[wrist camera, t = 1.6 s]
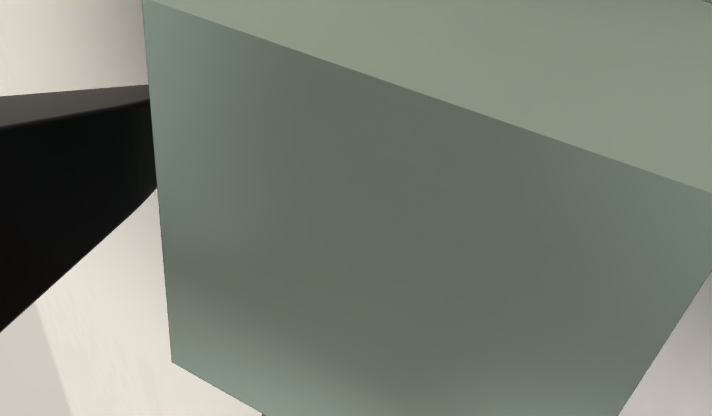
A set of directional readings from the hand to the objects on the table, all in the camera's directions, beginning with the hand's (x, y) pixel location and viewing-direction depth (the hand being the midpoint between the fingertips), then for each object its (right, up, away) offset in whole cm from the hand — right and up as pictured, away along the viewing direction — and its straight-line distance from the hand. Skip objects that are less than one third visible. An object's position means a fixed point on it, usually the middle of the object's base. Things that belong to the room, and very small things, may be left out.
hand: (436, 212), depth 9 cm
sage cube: (+2, +2, +3) cm, 4 cm away
